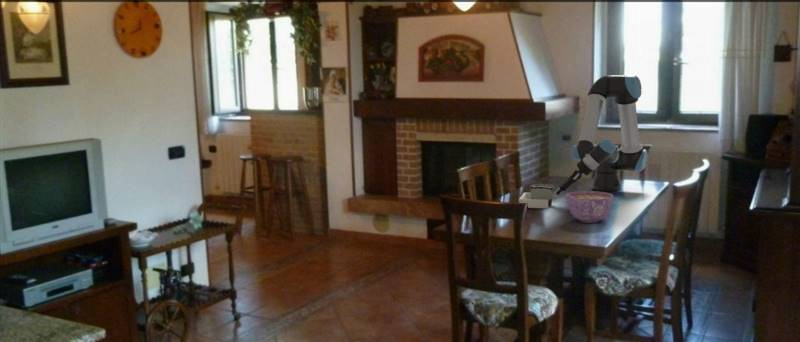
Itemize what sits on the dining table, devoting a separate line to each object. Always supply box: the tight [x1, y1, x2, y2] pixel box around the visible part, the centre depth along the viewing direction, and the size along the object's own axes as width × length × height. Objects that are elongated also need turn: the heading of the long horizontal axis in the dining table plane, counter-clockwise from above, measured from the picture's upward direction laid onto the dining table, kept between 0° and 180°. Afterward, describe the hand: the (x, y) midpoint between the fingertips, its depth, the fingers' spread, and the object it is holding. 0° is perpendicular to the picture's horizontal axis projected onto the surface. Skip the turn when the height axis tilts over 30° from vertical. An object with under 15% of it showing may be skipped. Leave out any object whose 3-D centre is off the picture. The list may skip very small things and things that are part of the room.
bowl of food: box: [565, 190, 614, 224], centre depth 327 cm, size 20×20×12 cm
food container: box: [528, 183, 555, 208], centre depth 365 cm, size 12×6×10 cm, turn 65°
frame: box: [518, 192, 549, 209], centre depth 368 cm, size 14×18×4 cm
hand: (552, 198), depth 365 cm, fingers closed
